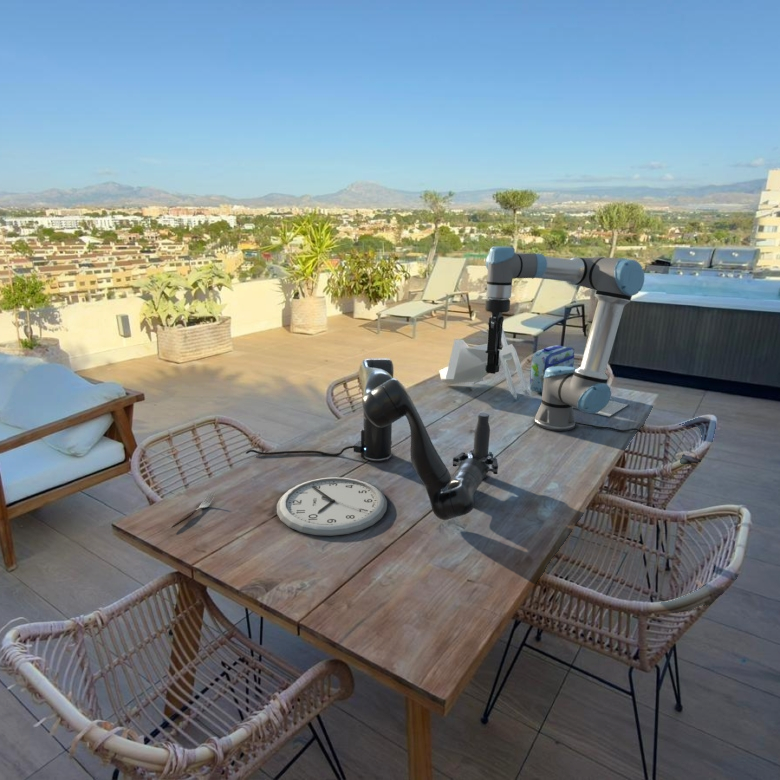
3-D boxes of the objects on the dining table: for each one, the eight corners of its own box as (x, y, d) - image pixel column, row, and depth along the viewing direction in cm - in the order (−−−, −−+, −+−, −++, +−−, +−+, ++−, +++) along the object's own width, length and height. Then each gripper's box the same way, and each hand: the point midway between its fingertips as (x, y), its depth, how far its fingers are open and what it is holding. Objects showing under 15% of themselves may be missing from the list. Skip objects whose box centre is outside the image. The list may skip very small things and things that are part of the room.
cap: (489, 368, 171) (490, 362, 171) (501, 370, 169) (502, 364, 168) (482, 370, 168) (483, 364, 168) (494, 373, 166) (495, 367, 165)
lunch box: (546, 398, 236) (551, 353, 229) (525, 393, 243) (529, 349, 237) (573, 387, 253) (579, 344, 247) (553, 382, 260) (558, 341, 254)
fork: (167, 528, 130) (166, 521, 130) (209, 498, 145) (208, 492, 144) (175, 530, 130) (174, 523, 129) (216, 500, 144) (216, 494, 143)
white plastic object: (461, 429, 252) (437, 405, 227) (444, 352, 274) (420, 323, 250) (535, 404, 240) (518, 377, 215) (510, 326, 262) (492, 293, 237)
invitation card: (608, 416, 214) (573, 407, 224) (608, 416, 214) (573, 408, 224) (628, 404, 229) (594, 396, 238) (628, 405, 229) (594, 397, 238)
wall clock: (392, 527, 129) (268, 531, 127) (391, 533, 130) (269, 537, 127) (383, 473, 158) (282, 475, 155) (383, 478, 158) (282, 480, 156)
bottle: (483, 472, 164) (488, 411, 158) (488, 478, 160) (493, 417, 154) (469, 473, 163) (474, 412, 157) (474, 479, 159) (478, 417, 153)
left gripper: (495, 468, 143) (506, 446, 158) (444, 459, 148) (460, 438, 163) (492, 493, 145) (504, 468, 160) (443, 483, 151) (459, 460, 166)
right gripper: (491, 294, 171) (485, 363, 177) (480, 300, 155) (475, 376, 162) (514, 296, 168) (508, 366, 175) (505, 302, 153) (499, 379, 160)
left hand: (482, 453), depth 162 cm, fingers closed on bottle, 4 cm apart
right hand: (492, 371), depth 169 cm, fingers closed on cap, 4 cm apart
